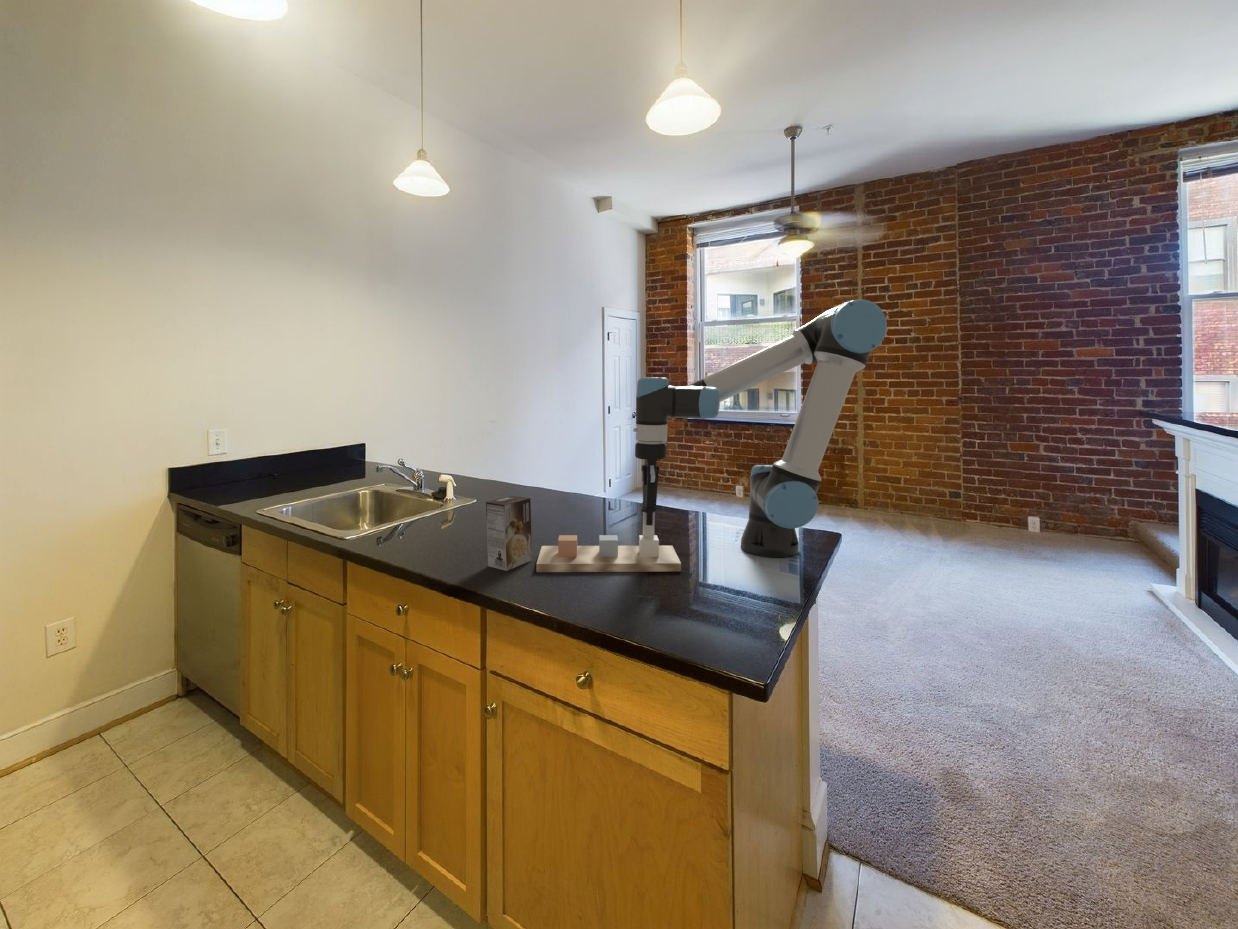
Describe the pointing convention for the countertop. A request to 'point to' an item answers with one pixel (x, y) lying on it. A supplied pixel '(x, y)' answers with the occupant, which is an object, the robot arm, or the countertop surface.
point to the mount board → (607, 560)
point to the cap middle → (608, 546)
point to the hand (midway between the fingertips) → (648, 536)
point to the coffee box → (509, 532)
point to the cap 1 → (567, 546)
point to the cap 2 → (648, 546)
